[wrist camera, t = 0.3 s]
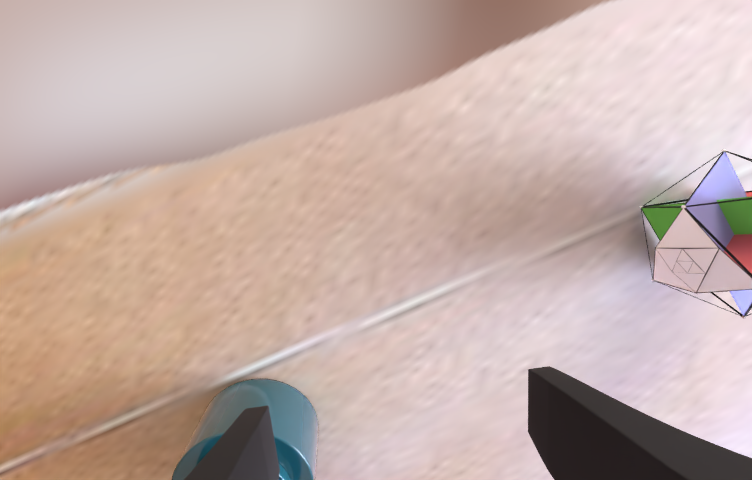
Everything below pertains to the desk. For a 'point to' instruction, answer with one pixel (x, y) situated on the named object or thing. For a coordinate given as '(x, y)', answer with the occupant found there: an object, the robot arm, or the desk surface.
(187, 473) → the ink bottle
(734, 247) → the geometric puzzle
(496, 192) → the desk surface
